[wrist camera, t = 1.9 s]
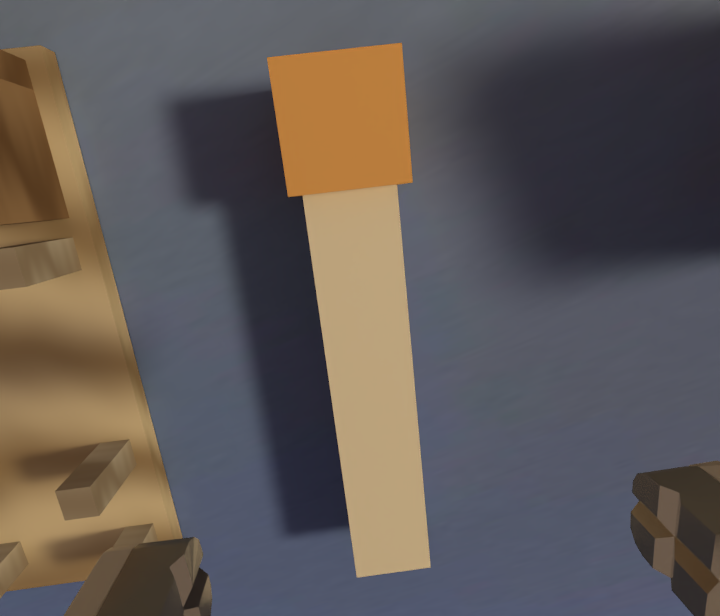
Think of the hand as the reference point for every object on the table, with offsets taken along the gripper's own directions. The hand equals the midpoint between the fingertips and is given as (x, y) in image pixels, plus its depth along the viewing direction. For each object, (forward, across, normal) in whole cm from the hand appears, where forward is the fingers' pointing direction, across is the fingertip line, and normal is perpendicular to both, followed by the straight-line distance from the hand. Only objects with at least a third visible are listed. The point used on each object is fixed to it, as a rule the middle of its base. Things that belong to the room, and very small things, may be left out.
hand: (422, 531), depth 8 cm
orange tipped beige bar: (+16, 0, +1) cm, 16 cm away
